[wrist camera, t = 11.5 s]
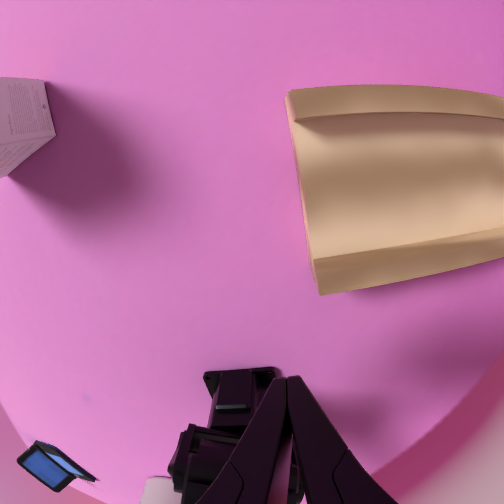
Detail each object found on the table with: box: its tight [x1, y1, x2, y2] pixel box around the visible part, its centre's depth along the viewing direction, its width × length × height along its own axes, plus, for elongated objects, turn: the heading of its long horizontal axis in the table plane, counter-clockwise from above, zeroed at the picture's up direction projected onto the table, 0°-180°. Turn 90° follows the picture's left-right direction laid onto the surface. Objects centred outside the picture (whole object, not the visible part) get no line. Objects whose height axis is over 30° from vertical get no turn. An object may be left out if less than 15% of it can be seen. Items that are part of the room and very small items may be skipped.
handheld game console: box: [17, 440, 95, 492], centre depth 39 cm, size 16×13×9 cm
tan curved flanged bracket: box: [284, 85, 504, 296], centre depth 15 cm, size 11×16×5 cm
